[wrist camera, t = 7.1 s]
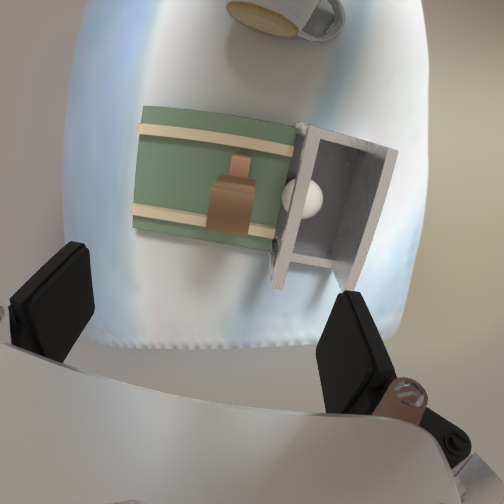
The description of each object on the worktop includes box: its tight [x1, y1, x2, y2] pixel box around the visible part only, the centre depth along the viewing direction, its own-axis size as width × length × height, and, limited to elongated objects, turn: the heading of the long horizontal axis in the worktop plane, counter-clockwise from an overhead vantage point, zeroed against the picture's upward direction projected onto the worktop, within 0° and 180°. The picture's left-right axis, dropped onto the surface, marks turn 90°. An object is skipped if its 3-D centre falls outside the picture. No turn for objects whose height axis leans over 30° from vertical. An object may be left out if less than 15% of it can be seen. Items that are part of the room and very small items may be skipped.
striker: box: [205, 153, 255, 237], centre depth 25 cm, size 6×3×9 cm, turn 170°
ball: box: [282, 179, 323, 219], centre depth 29 cm, size 4×4×4 cm
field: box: [131, 106, 296, 251], centre depth 30 cm, size 13×15×2 cm
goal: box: [268, 123, 398, 293], centre depth 28 cm, size 14×8×8 cm, turn 170°
